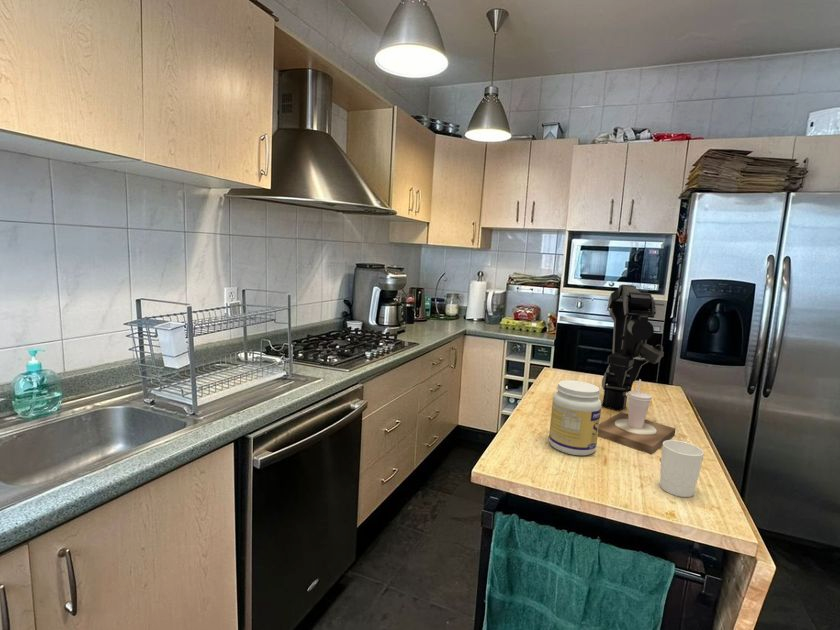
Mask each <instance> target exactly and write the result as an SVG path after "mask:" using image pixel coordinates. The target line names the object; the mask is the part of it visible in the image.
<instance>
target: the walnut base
mask: <svg viewBox="0 0 840 630" xmlns="http://www.w3.org/2000/svg"><path fill="white" fill-rule="evenodd" d="M676 431H677V430H676V427H672V426H669V425H665V424H662V423H658V422H656V421H655V422H654V421H651V420H647V419H645V421H644V424H643V427H642V429H636V428H632V427H630V426H629V425H628V413H624V412H621V411H619V412H618V413H616V414H615V415H613V416H610V417H609V418H608V419H606V420H604V421H602V422H599V429H598V438H601V439H605V440H608V441H611V442H614V443H616V444H620V445H622V446H626V447H628V448H632V449H634V450H637V451H640V452H643V453H646V454H649V455H653V454H655V452H656V451H658V450H659V449H661V448H662V447H663V442H664V441H666V440H672V438H673V437H675V435H676Z"/></svg>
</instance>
